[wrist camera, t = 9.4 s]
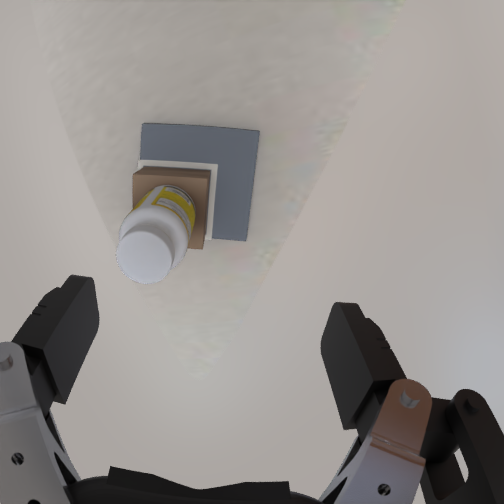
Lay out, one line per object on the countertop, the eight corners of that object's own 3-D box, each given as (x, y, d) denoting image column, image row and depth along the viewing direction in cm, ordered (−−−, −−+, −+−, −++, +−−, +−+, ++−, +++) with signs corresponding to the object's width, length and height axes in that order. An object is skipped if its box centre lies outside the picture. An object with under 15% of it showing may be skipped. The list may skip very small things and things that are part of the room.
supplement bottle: (147, 241, 30) (117, 295, 22) (136, 188, 28) (96, 226, 19) (201, 234, 31) (188, 289, 22) (192, 179, 28) (173, 214, 19)
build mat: (142, 123, 30) (139, 123, 29) (258, 130, 31) (259, 131, 30) (140, 230, 35) (137, 234, 34) (245, 239, 37) (245, 243, 36)
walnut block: (144, 166, 31) (132, 174, 28) (210, 170, 32) (207, 178, 28) (143, 229, 34) (133, 243, 30) (205, 234, 35) (202, 249, 31)
